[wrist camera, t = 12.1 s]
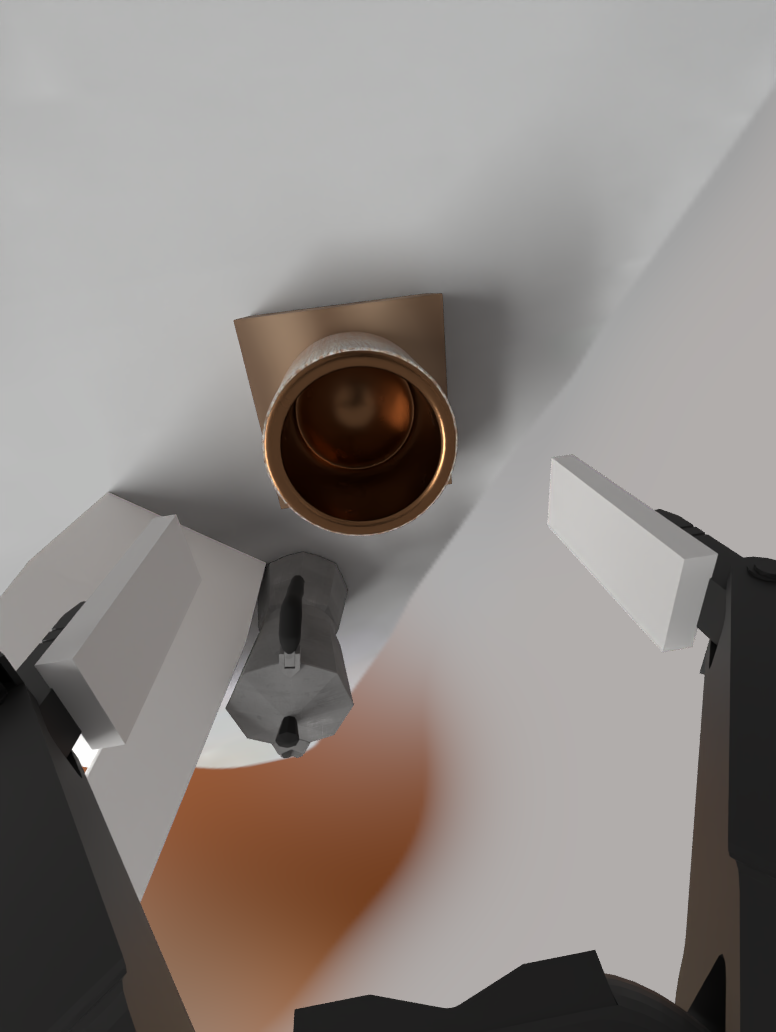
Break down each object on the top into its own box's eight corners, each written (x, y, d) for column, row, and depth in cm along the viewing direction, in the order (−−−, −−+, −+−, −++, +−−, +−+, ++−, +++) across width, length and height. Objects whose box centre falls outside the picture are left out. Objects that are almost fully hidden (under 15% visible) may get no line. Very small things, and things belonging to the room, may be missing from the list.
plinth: (425, 293, 35) (442, 293, 29) (436, 459, 41) (451, 483, 36) (249, 316, 34) (233, 320, 29) (288, 480, 41) (281, 509, 35)
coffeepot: (345, 635, 50) (350, 797, 34) (259, 636, 48) (223, 804, 32) (352, 514, 43) (363, 645, 27) (253, 511, 42) (202, 646, 26)
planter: (259, 348, 30) (230, 369, 21) (416, 316, 30) (448, 324, 21) (302, 491, 35) (292, 555, 26) (436, 463, 35) (469, 517, 26)
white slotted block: (108, 491, 39) (-184, 746, 17) (266, 562, 44) (197, 830, 22) (45, 637, 46) (-228, 961, 23) (190, 684, 51) (78, 989, 28)
